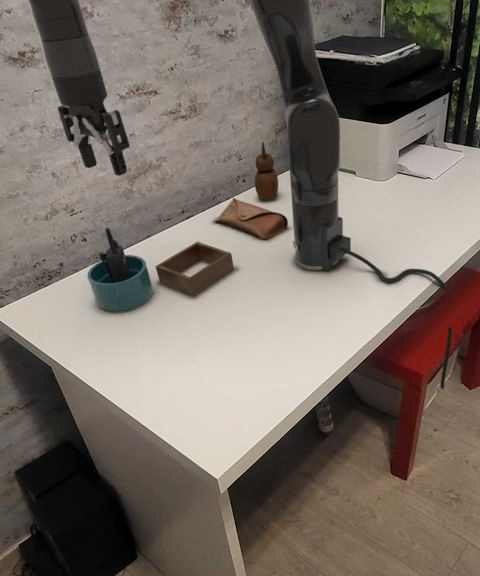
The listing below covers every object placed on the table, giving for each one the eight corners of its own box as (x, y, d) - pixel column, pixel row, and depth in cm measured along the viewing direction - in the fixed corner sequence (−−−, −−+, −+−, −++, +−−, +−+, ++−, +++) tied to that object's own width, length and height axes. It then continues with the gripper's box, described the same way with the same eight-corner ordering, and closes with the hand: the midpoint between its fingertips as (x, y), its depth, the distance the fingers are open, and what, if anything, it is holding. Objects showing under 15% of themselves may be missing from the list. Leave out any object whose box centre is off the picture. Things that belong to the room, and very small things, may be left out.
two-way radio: (135, 299, 105) (114, 230, 95) (112, 303, 104) (89, 234, 94) (135, 285, 109) (115, 218, 99) (114, 289, 108) (91, 221, 99)
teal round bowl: (164, 291, 107) (157, 264, 103) (121, 319, 101) (111, 291, 96) (129, 276, 113) (121, 249, 109) (86, 302, 106) (75, 274, 102)
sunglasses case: (211, 220, 130) (217, 193, 128) (230, 224, 136) (237, 198, 134) (265, 239, 120) (272, 210, 119) (283, 243, 126) (291, 215, 124)
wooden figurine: (275, 203, 137) (270, 144, 127) (254, 202, 138) (247, 144, 128) (281, 192, 142) (276, 135, 132) (260, 192, 143) (254, 135, 133)
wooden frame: (234, 269, 112) (231, 253, 110) (193, 296, 105) (189, 279, 102) (200, 257, 117) (197, 241, 115) (159, 282, 110) (155, 266, 108)
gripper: (122, 66, 82) (148, 169, 92) (68, 61, 89) (98, 157, 99) (82, 78, 77) (114, 185, 88) (29, 72, 85) (64, 171, 95)
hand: (106, 170), depth 94 cm, fingers open, 8 cm apart
